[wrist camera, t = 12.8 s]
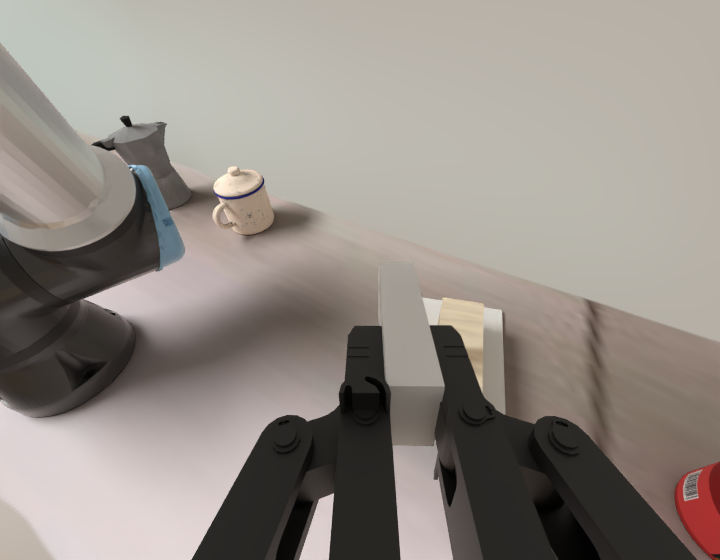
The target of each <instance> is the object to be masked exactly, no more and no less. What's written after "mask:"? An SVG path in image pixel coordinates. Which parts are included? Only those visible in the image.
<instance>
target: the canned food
mask: <svg viewBox="0 0 720 560" xmlns="http://www.w3.org/2000/svg"><path fill="white" fill-rule="evenodd" d="M675 504H676V508H677V511H678V514H679V516H680V519H681V521H682V523H683V525H684V526H685V528H686V530H687V531H688V533H689V534H690V536H691V537H692V538H693V540H694V541H695V542H696V543H697V544H698V546H699V547H700V548H701V549H702V550H703V551H704V552H705V553H706V554H707V555H708V556H709V557H710V558H712V559H713V560H720V462H718V463H715V464H712V465H709V466H706V467H703V468H700V469H697V470H694V471H691V472H688V473H687V474H685V475H684V476H683V477H682V478H681V480H680V481H679V483H678V484H677V486H676V489H675Z"/></svg>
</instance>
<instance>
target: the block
mask: <svg viewBox="0 0 720 560" xmlns="http://www.w3.org/2000/svg"><path fill="white" fill-rule="evenodd" d="M483 316H484V304H483V303H477V302H470V301H464V300H458V299H452V298H445V297H443V300H442V305H441V310H440V314H439V319H438V325H452V326H453V327H454V328H455V329H456V330H457V331H458V333H459V334H460V335H461V337H462V339H463V342H464V345H465V348H466V350H467V353H468V358H470V361H471V364H472V367H473V369H474V372H475V375H476V377H477V380H478V383H479V386H480V388H481V391H482V387H483Z"/></svg>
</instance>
